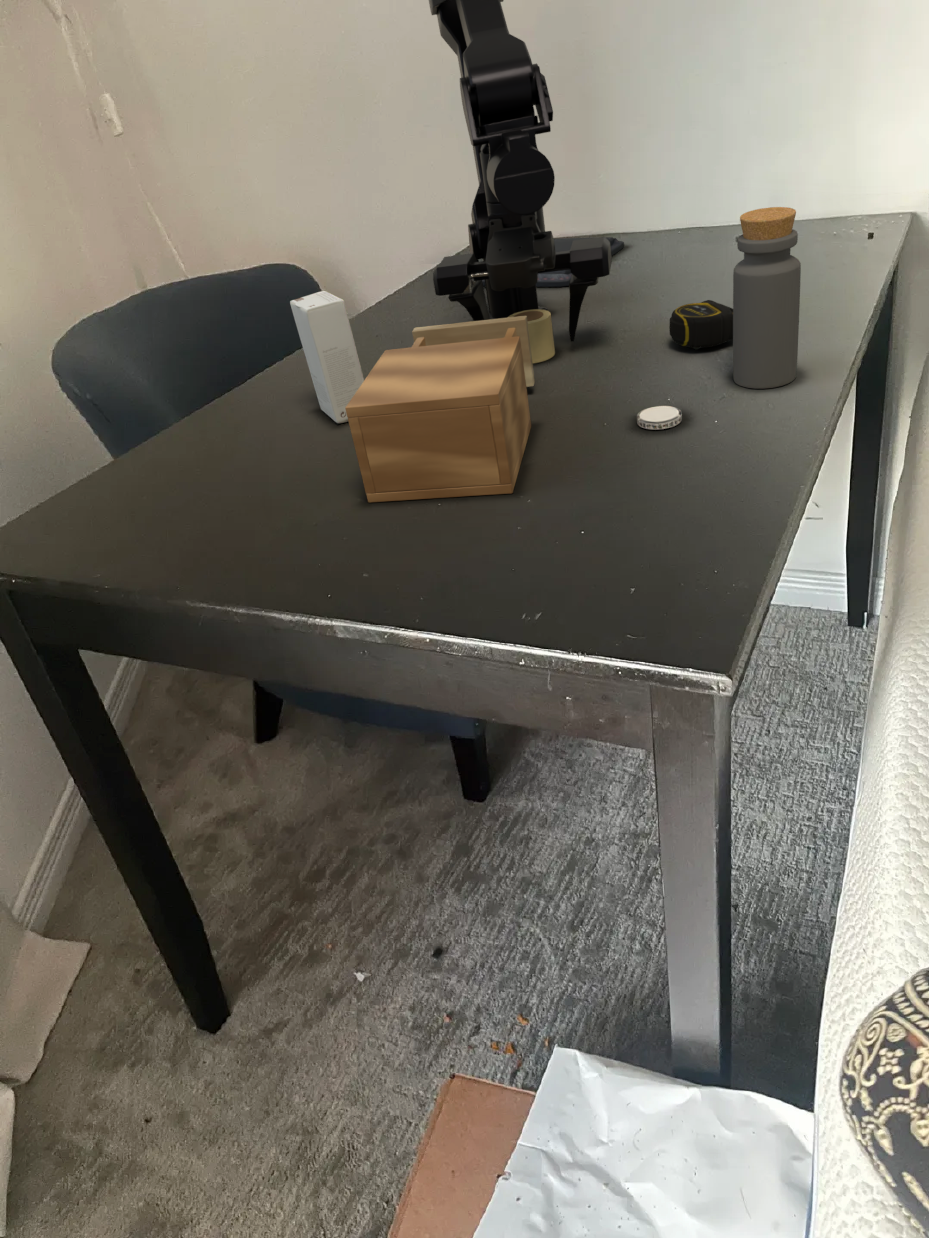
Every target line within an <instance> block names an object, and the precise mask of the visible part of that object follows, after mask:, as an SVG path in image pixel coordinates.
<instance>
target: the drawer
mask: <svg viewBox="0 0 929 1238" xmlns="http://www.w3.org/2000/svg"><path fill="white" fill-rule="evenodd" d="M411 333H412V338H413V344H412V345H411V347H420V346H430V345H439V344H449V343H459V342H469V341H478V340H488V339H498V338H507V337H517V336H520V340H521V349H522V357H523V364H524V372H525V380H526V388H528V387H529V388H531V387H534V385H535V382H536V380H535V379H536V378H535V372H534V363H532V355H531V346H530V338H529V330H528V322H527V316H518V317H509V318H500V319H490V320H481V321H474V320H473V321H464V322H454V323H445V324H436V325H427V326H418V327H414V328H413V330H412V331H411Z"/></svg>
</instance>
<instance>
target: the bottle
mask: <svg viewBox="0 0 929 1238" xmlns="http://www.w3.org/2000/svg"><path fill="white" fill-rule="evenodd" d="M796 214H797V210H796V209H794V208H793V207H789V206H788V207H786V206H771V207H763V208H762V207H761V208H757V209H753V210H748V211H746V212H744V213H742V214H741V215H740V217H739V222H740V226H741V230H742V231H741V232H742V234H741V235H739V236H738V237H737V244H736V245H737V246H736V247H737V250H738V251H739V252H742V253H743V259H742V260H740V261H739V262H737V263H736V265H735V266H734V268H733V273H732V291H733V292H732V309H733V339H732V374H733V375H732V376H733V377H732V378H733V381H734V383H735V384H736V385H738V386H740V387H743V388H747V389H748V388H749V389H755V390H757V389H758V390H760V389H772V388H773V389H774V388H778V387H782V386H785V385H788V384H790V383H792V382H793V381H795V379H796V378H797V374H798V373H797V370H798V355H799V354H798V353H799V331H800V330H799V329H800V328H799V327H800V307H801V306H800V303H801V278H802V277H801V274H802V273H801V272H802V264H801V262H800V260H799V259H798V258H797V257H795V256H794V255H792V254H791V249H792V248H794V247H795V246H796V245H798V241H799V239H798V238H799V237H798V236H799V234H798V231H797V230H796V229H794V224H795V219H796Z"/></svg>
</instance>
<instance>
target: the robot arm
mask: <svg viewBox="0 0 929 1238" xmlns="http://www.w3.org/2000/svg"><path fill="white" fill-rule="evenodd" d="M503 2H504V0H428V5H429V9H430V14H431V16H435V15H436V18H437V23H438V28H439V29H438V30H439V34H440V37H441V38H442V39H443V41H444V42H445V44H447V45H448V46H449V48H450V49H451V50H452V52H453V53H454V54H455V55H456V56H457V62H458V69H459V74H460V77H459V90H460V97H461V98H460V99H461V105H462V110H463V113H464V114H463V115H464V119H465V122H466V127H467V132H468V135H469V141H470V144H471V147H472V150H473V151H472V152H473V155H474V163H475V164H474V165H475V169H476V174H477V175H476V176H477V181H478V188H477V190H476V193H475V196H474V199H473V202H472V206H471V213H470V216H471V223H468V224H467V230H468V244H469V245H468V246H469V253H463V254H455V255H449V256H444V257H443V259H442V260H441V261H440V262H439V264H438V265H437V266H436V268H435V270H434V271H433V273H432V282H433V287H434V293H435V296H439V297H441V296H448V297H447V298H448V300H449V302H452V303H454V302H455V303H456V302H457V303H459V304H460V305H461V306H462V307H463V308H464V309H465V310H466V311H467V313H468V314H469V316H470V317H471V318H472V320H473V321H481V320H490V319H500V318H507V317H509V316H510V315H512V314H515V313H517V312H521V311H526V310H534V309H541V310H547V311H549V309H548V307H545V306H540V305H539V301H538V300H539V299H538V291H537V287H536V283H537V281H538V273H545V272H553V271H562V270H570V269H571V273H572V276H571V280H570V283H569V286H568V289H569V309H568V333H569V342H571V343H572V342H575V338H576V334H577V328H578V325H579V318H580V314H581V309H582V305H583V301H584V298H585V296H586V293H587V290H588V288H589V287H592V286H596V285H598V283H599V278H605V277H607V276H609V275H610V274H611V267H612V256H611V246H610V242H609V241H608V240H607V239H606V238H605V237H606V236H598V238H593V237H589V238H590V239H582V240H574V241H573V242H572V246H571V249H570V251H562V252H555V244H554V239H555V238H554V236H553V231H552V230H546V225H545V216H544V207H545V206H546V204H547V203H548V202H549V200H550V198H551V196H552V195H553V192H554V188H555V182H556V181H555V180H556V179H555V176H556V175H555V171H554V168H553V166H552V164H551V161H550V160H549V159H548V158H547V156H546V155H545V154H543V152H542V151H539V148H538V144H537V138H536V135H541V134H547V133H551V129H552V128H551V122H553V120H554V110H553V106H552V105H553V104H552V101H551V96H550V93H549V87H548V85H547V80H546V77H545V75H544V74H542V72H541V69H540V66H539V64H538V63H533V61H532V57H531V55H530V52H529V50H528V47H527V44H526V42H525V41H524V40H522V39H521V38H519V37H517V36H515V35H513V34H510V31H509V28H508V25H507V21H506V18H505V13H504V10H503V6H502V3H503ZM534 106H535V108H534ZM535 110H536V113H537V115H536V113H535ZM479 260H482V261H479ZM482 280H485V286H483V283H482ZM484 288H485V289H484Z"/></svg>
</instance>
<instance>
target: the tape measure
mask: <svg viewBox="0 0 929 1238" xmlns="http://www.w3.org/2000/svg"><path fill="white" fill-rule="evenodd" d="M668 327H669V328H668V329H669V335H670V337H671V340H672V341H673V342H674V343H675V344H676V345H678V346H682V347H686V348H692V349H695V350H699V349H701V348H712V347H717V346H720V345H722V344H724V343H727V342H729V341H732V340H733V307H730V306H728V305H724V304H722V303H719V302H716V301H714V300H711V299H707V300H704V301H701V302H694V303H693V302H692V303H687V304H683V305H681V306H678V307H676V308H675V309H674V310H672V313H671V316H670V318H669V326H668Z"/></svg>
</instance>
